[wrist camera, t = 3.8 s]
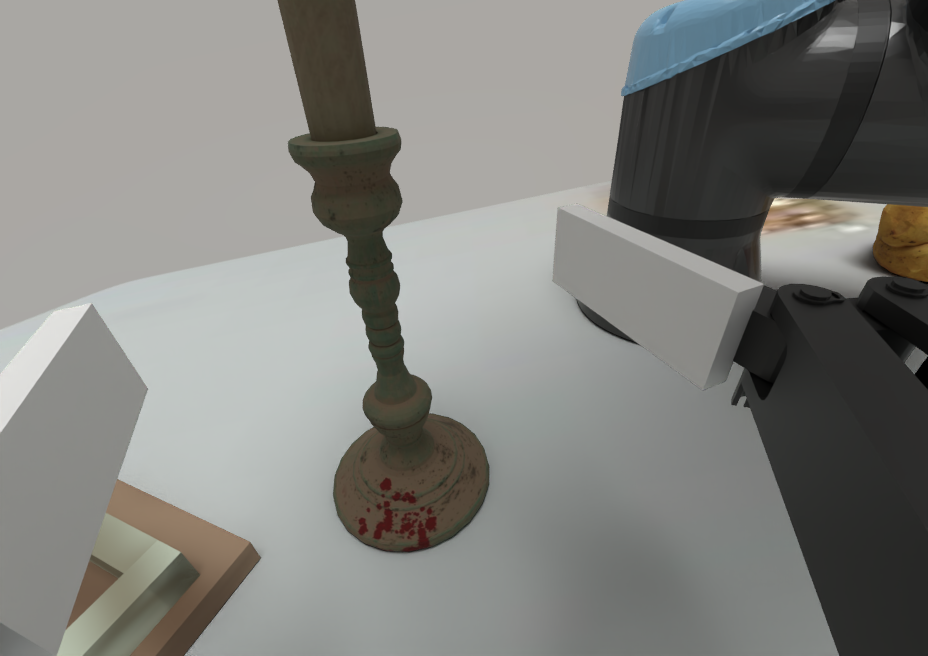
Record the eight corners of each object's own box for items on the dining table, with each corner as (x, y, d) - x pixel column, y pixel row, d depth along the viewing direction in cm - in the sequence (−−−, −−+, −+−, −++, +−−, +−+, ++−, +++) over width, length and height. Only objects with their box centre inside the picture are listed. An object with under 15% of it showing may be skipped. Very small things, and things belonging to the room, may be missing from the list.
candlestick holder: (304, 537, 22) (-395, -847, 5) (371, 412, 29) (186, -308, 12) (474, 569, 20) (302, -1477, 3) (499, 427, 27) (490, -394, 10)
